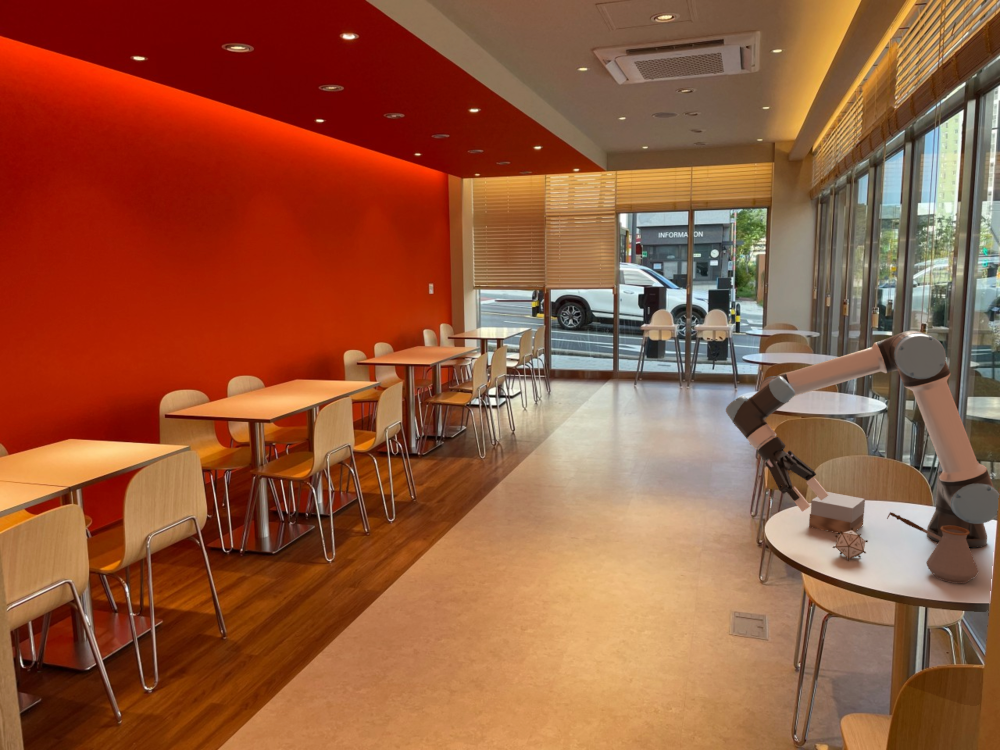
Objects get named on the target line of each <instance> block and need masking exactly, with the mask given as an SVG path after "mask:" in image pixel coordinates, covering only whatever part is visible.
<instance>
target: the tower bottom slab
mask: <svg viewBox="0 0 1000 750" xmlns="http://www.w3.org/2000/svg"><path fill="white" fill-rule="evenodd" d="M864 515H865V512H864V513H863V514H862V515H861V516H860V517H858V518H857V519H856V520H854V521H853V522H852V523H851V522H846V521H841V520H836V519H831V518H826V517H822V516H817V515H812V514H811V513H809V523H808V527H809V528H812V527H813V528H812V529H816V528H818V529H817V530H821V529H822V531H825V530H828V531H827V532H830V531H833V532H832V533H834V532H838V533H840V531H842V532H846V531H850V530H851V528H852V527H853V531H854V532H857V531H858V530H860V529H861V528H862V527H863V526H864ZM862 525H863V526H862ZM861 526H862V527H861ZM860 527H861V528H860ZM859 528H860V529H859ZM857 529H858V530H857ZM856 530H857V531H856ZM838 533H837V534H838Z"/></svg>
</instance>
